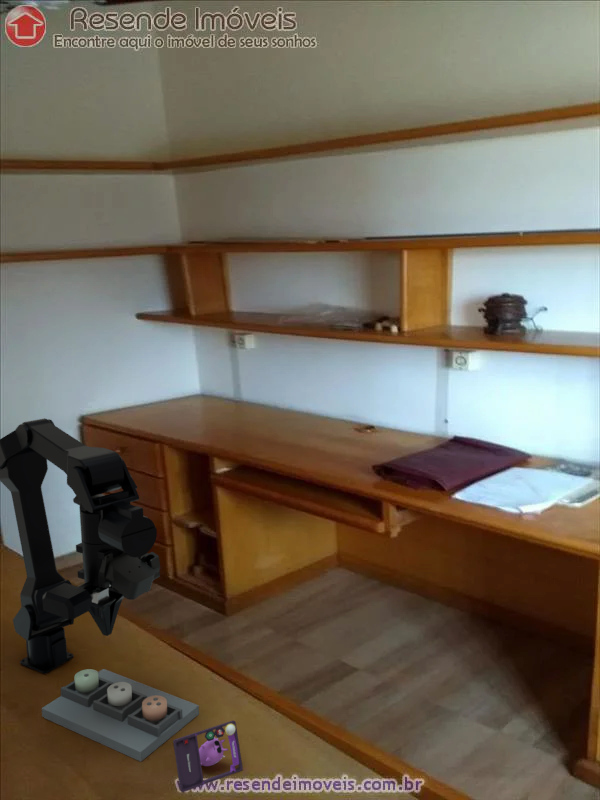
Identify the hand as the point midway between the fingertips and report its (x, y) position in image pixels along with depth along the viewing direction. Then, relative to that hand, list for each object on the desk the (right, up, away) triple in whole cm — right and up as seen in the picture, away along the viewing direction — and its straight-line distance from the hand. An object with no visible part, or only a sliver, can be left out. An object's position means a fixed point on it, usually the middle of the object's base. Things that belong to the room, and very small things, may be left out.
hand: (107, 634), depth 119 cm
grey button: (+2, -10, +1) cm, 10 cm away
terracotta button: (+8, -11, -2) cm, 14 cm away
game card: (+16, -16, -11) cm, 25 cm away
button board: (+2, -13, +2) cm, 13 cm away
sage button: (-4, -9, +5) cm, 11 cm away
